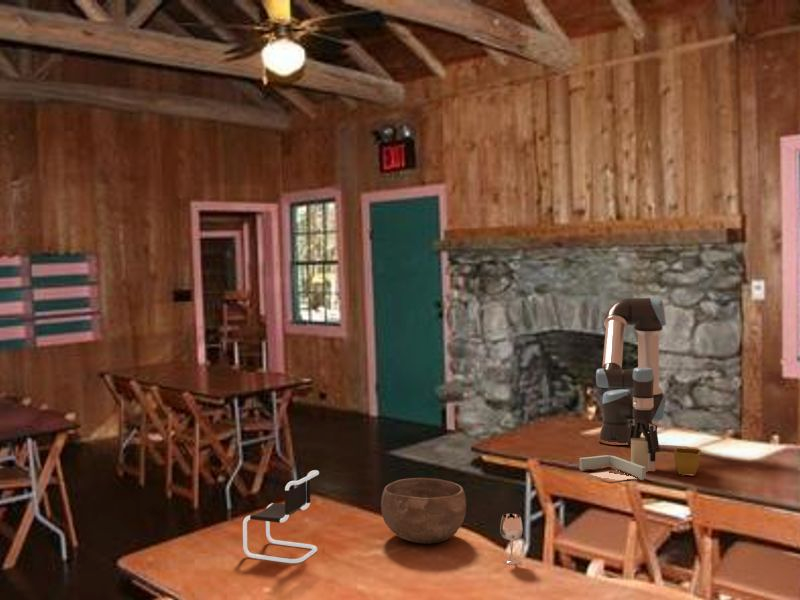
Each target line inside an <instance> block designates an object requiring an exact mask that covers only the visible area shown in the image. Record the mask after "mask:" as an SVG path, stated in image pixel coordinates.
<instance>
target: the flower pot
mask: <svg viewBox="0 0 800 600" xmlns="http://www.w3.org/2000/svg"><path fill="white" fill-rule="evenodd" d="M701 451H702V450H701V449H698V448H697V449H696V448H685V447H676V448H675V449H674V452H673V453H674V454H673V456H674V465H675V469H676V471H677V473H678V474H679V473H680V474H695V475H696V473H697V472H698V469H699V465H700V461H701V453H702V452H701Z"/></svg>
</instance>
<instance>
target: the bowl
mask: <svg viewBox="0 0 800 600" xmlns="http://www.w3.org/2000/svg"><path fill="white" fill-rule="evenodd" d="M466 497H467V496H466V493H465V490H464V488H463V486H462V485H460V484H458V483H455V482H453V481H449V480H444V479H440V478H431V477H428V478H427V477H413V478H412V477H411V478H410V477H409V478H404V479H403V478H402V479H397V480H395V481H392V482H391V483H388V484H387V485H386V486H385V487H384V488H383V491H382V495H381V501H380V511H381V516H382V519H383V521H384V523H385V525H386V526H387V527H388V528H389V530H390V531H391V532H392V533H394V535H396V536H398V537H399V538H401V539H403V540H405V541H408V542H412V543H416V544H417V543H418V544H436V543H441V542H444V541H447V540H449V539H450V538H452V536H454V535H456V533H457V532H458V531H459V530H460V528H461V527H462V524H463V523H464V520H465V517H466V511H467V498H466Z"/></svg>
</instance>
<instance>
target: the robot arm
mask: <svg viewBox="0 0 800 600" xmlns="http://www.w3.org/2000/svg"><path fill="white" fill-rule="evenodd" d="M666 325H667V322H666V312H665V305H664V301H663V300H662V299H661V298H654V297H638V298H637V297H635V298H634V297H633V298H632V297H631V298H630V297H628V298H626V297H624V298H622V299H620V300H617V301H616V302H614V303H613V304H612V305H611V306H610V307H609V308H608V310H607V311H606V313H605V315H604V319H603V326H604V328H605V336H604V344H603V345H604V346H603V359H602V366H601V367H602V368H597V369H596V372H595V382H596V386H597V387H598V388H604V389H612V390H607V391H605V392H604V393H603V394H602V402H601V403H602V425H601V429H600V432H599V435H598V440H599V439H601V440H604V441H608V442H618V443H626V442H627V443H628V444H630V445H629V446H630V447H631V438H640V437H642V435H643V437H645V439H646V442H648V450H649V452H648V470H654V469H656V453H659V452H660V443H659V437H658V426H657V424H656V425H653V424H652V422H660V421H662V420H664V419H663V418H664V413H665V407H666V400H667V395H666V394H664V393H663V389H662V388H661V387H660V369H659V368H660V363H659V362H660V361H659V360H660V356H659V355H660V354H659V353H660V351H659V350H660V349H659V347H660V346H659V345H660V343H659V340H660V338H659V337H660V335H659V334H660V333H661V332H662V331H663V327H665V326H666ZM628 326H633V330H634V331H636V333H637V367H635V368H633V369H622V367H623V366H622V365H623V355H624V354H623V353H624V337H625V330H626V329H627V327H628ZM630 389H632V392H631V391H630Z"/></svg>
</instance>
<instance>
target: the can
mask: <svg viewBox="0 0 800 600" xmlns="http://www.w3.org/2000/svg"><path fill="white" fill-rule="evenodd" d="M648 452H649V450H648V442H646V439H645V436H640V438H631V446H630V462H632V463H635V464H638V465H641V466H643V467H646V470H648Z"/></svg>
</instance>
